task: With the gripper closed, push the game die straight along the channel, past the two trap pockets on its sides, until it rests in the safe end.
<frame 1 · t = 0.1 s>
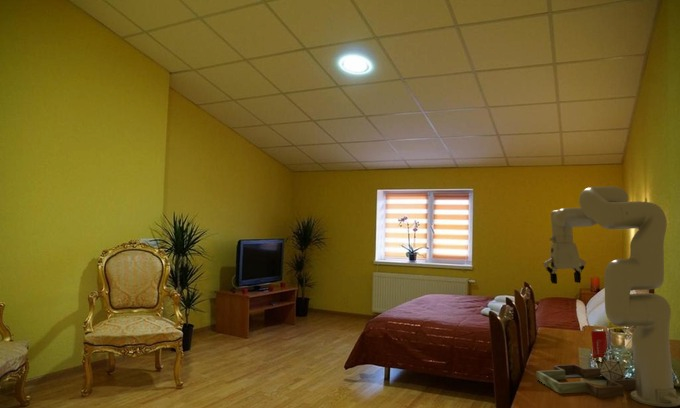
hand: (566, 282, 186), 31 cm above the table, tool pointing down, fingers open, 9 cm apart
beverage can: (600, 361, 185), on the table
game die: (613, 383, 157), resting in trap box
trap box: (584, 384, 156), on the table
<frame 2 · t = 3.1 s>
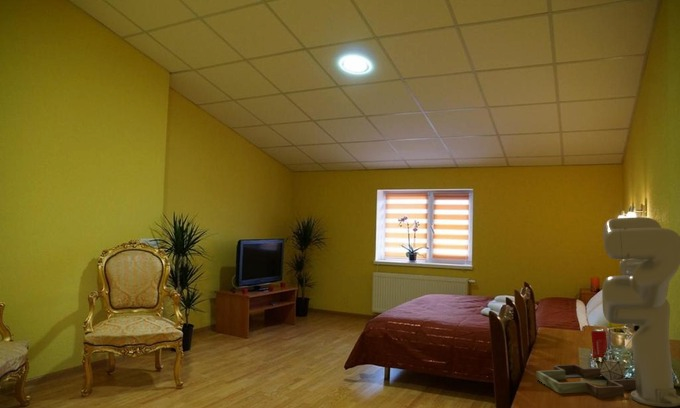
hand: (643, 344, 159), 12 cm above the table, tool pointing down, fingers closed
nothing on the table moved.
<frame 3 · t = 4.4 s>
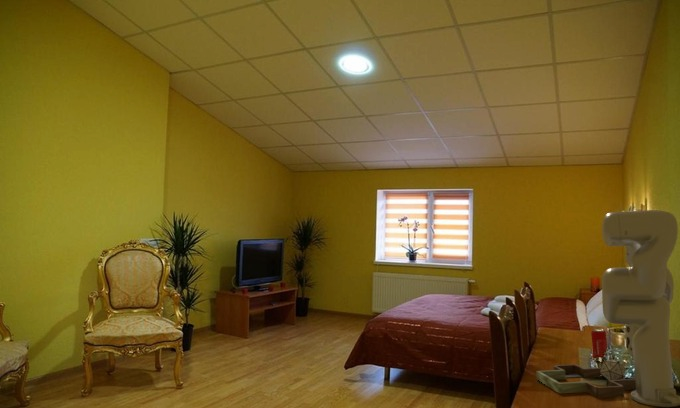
hand: (645, 371, 158), 3 cm above the table, tool pointing down, fingers closed
nothing on the table moved.
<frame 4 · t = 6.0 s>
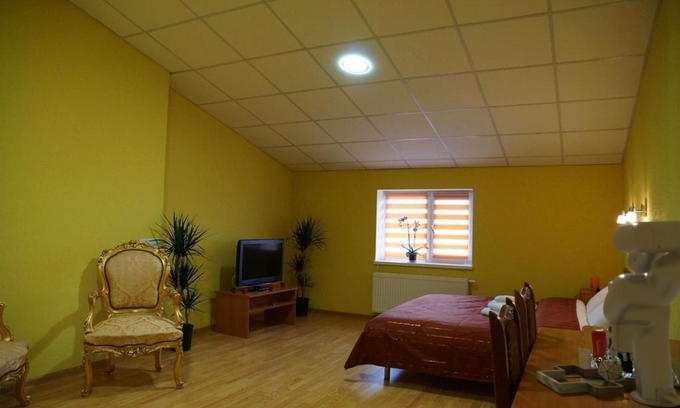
hand: (627, 372, 158), 3 cm above the table, tool pointing down, fingers closed
game die: (611, 383, 157), resting in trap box, touching gripper
everything else where it was.
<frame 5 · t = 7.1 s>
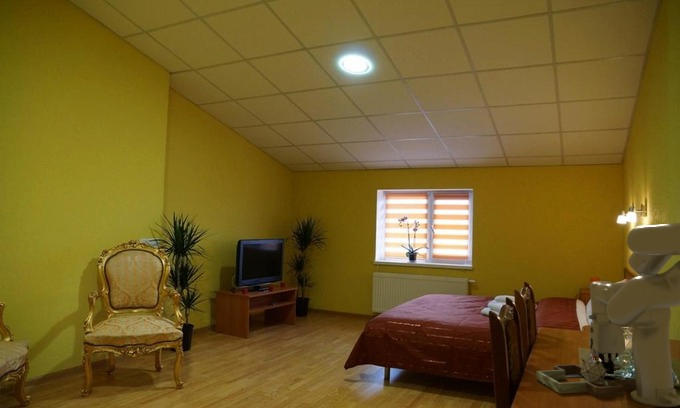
hand: (608, 372, 157), 3 cm above the table, tool pointing down, fingers closed
game die: (594, 384, 156), resting in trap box, touching gripper
everything else where it was.
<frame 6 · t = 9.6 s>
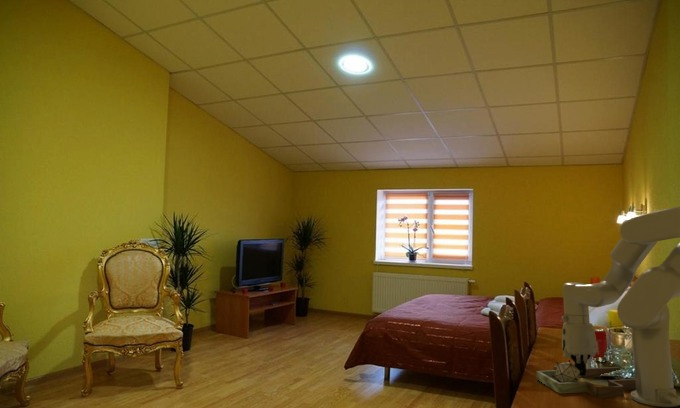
hand: (580, 374, 157), 3 cm above the table, tool pointing down, fingers closed
game die: (569, 386, 155), resting in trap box, touching gripper
everything else where it was.
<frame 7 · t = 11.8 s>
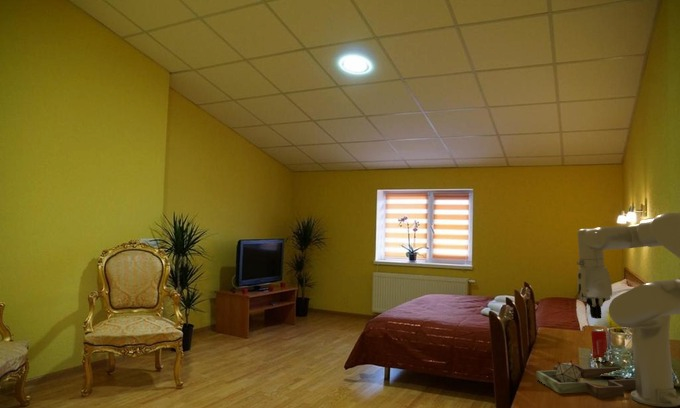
hand: (596, 317, 159), 22 cm above the table, tool pointing down, fingers closed
game die: (569, 386, 155), resting in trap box
everything else where it was.
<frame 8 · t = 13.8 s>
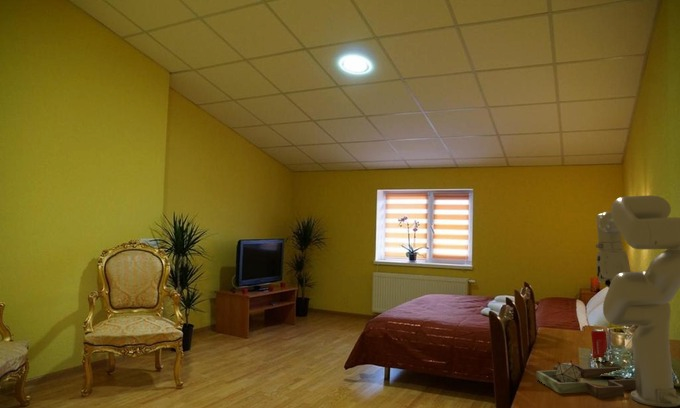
hand: (614, 298, 166), 27 cm above the table, tool pointing down, fingers closed
nothing on the table moved.
at the end: game die inside the target area on the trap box (1.7 cm from its centre), point 0.0 cm above the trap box's base; game die tilted 0° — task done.
